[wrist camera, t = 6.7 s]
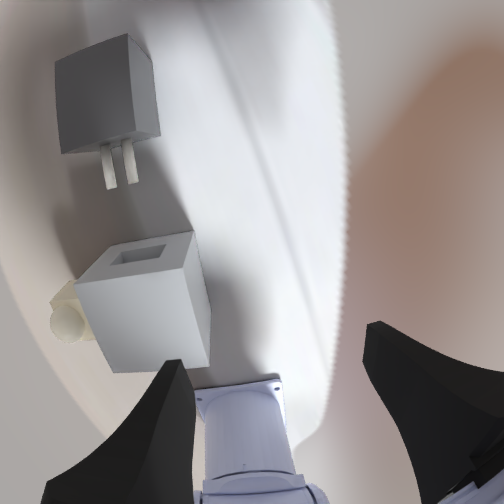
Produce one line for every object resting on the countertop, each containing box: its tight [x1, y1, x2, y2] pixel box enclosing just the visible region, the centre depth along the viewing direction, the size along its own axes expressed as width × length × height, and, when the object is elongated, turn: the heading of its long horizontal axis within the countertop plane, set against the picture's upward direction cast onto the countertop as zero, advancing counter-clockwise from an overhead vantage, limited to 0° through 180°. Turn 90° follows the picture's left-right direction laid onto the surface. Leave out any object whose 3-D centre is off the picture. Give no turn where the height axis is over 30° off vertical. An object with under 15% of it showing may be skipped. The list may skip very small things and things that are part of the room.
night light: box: [50, 280, 96, 343], centre depth 15 cm, size 3×4×4 cm
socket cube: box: [73, 231, 211, 373], centre depth 16 cm, size 6×6×6 cm
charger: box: [55, 34, 161, 190], centre depth 12 cm, size 9×4×5 cm, turn 7°
